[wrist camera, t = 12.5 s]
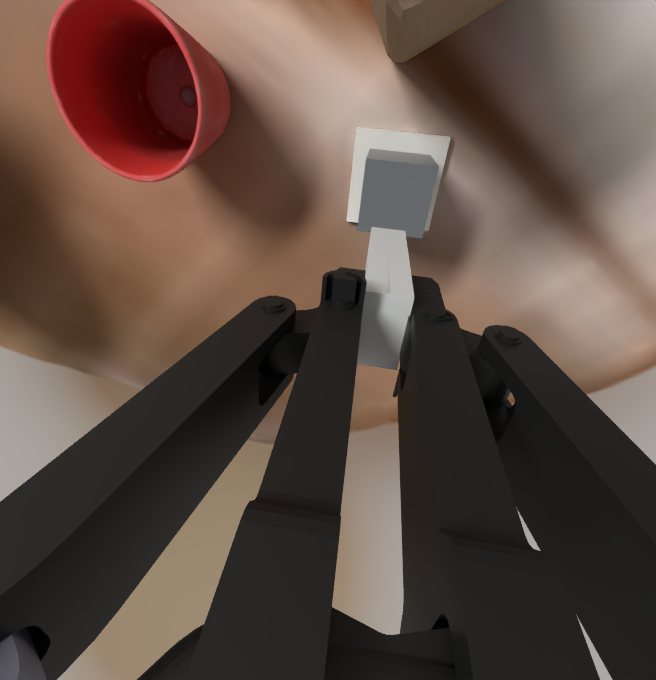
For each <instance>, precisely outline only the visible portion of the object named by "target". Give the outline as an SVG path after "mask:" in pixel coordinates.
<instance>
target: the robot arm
mask: <svg viewBox="0 0 656 680" xmlns="http://www.w3.org/2000/svg"><path fill="white" fill-rule="evenodd" d="M399 360H400V369H399V373H398V377H397V381H396V385H395V390H394V394H393V397H396V396H397V393H398V425H399V456H400V488H401V521H402V551H403V552H402V554H403V584H404V585H403V587H404V605H403V615H402V621H401V629H400V634H397V635H386V634H382V633H380V632H378V631H376V630H374V629H372V628H370V627H368V626H367V625H365V624H363V623H361V622H359V621H357V620H355V619H353V618H351V617H350V616H348V615H346V614H344V613H342V612H340V611H338V610H336V609H334V608H332V599H333V590H334V581H335V571H336V561H337V552H338V543H339V533H340V523H341V516H340V512H341V502H342V492H343V483H344V475H345V466H346V457H347V447H348V437H349V430H350V421H351V412H352V403H353V394H354V385H355V376H356V367H357V364H360V365H367V366H374V367H381V368H387V369H394V370H397V368H398V364H399ZM294 373H297V376H296V379H295V382H294V385H293V388H292V391H291V394H290V397H289V400H288V404H287V407H286V410H285V413H284V416H283V419H282V422H281V425H280V428H279V431H278V434H277V437H276V440H275V444H274V447H273V450H272V453H271V456H270V459H269V462H268V465H267V468H266V472H265V474H264V478H263V481H262V484H261V487H260V490H259V492H258V495H257V497H256V499H255V500H253V501H250V502H249V503H248V505H247V506H246V508H245V510H244V513H243V515H242V518H241V520H240V523H239V526H238V529H237V532H236V535H235V538H234V540H233V543H232V546H231V549H230V552H229V555H228V558H227V560H226V563H225V566H224V569H223V572H222V575H221V578H220V581H219V584H218V586H217V589H216V592H215V595H214V598H213V601H212V604H211V607H210V610H209V612H208V615H207V618H206V621H205V624H204V625H202V626H200V627H198V628H197V629H195V630H193V631H192V632H191V633H189V634H188V635H187V636H185V637H184V638H183V639H182V640H180V641H178V642H177V643H176V644H175V645H174V646H173V647H172V648H170V649H169V650H168V651H167V652H166V653H165V654H164V655H163V656H162V657H161V658H160V659H159V660H157V661H156V662H155V663H154V664H153V665H152V666H151V667H150V668H149V669H148V670H147V671H146V672H145V673H144V674H142V675H141V676H140V677H139V678H138V679H137V680H600V678H599V676H598V673H597V671H596V668H595V665H594V662H593V660H592V657H591V654H590V651H589V648H588V646H587V643H586V640H585V638H584V635H583V632H582V629H581V627H580V624H579V621H578V618H579V620H580V622H581V623H582V625H583V627H584V629H585V631H586V633H587V634H588V636H589V638H590V640H591V642H592V643H593V645H594V647H595V649H596V651H597V652H598V654H599V656H600V658H601V659H602V661H603V663H604V665H605V667H606V668H607V670H608V672H609V674H610V676H611V677H612V679H613V680H656V465H655V464H654V463H653V462H652V461H651V460H650V459H649V458H648V457H647V456H646V455H645V454H644V452H643V451H642V450H641V449H640V448H639V447H638V446H637V445H636V444H635V443H633V442H632V440H631V439H629V437H628V436H627V435H626V434H625V433H624V432H623V431H622V430H621V429H620V428H619V427H617V425H616V424H615V423H614V422H613V421H611V419H610V418H609V417H608V416H607V415H606V414H605V413H604V412H603V411H602V410H601V409H600V408H599V407H598V406H597V405H596V404H595V403H594V402H593V401H592V400H591V399H590V398H589V397H588V396H587V395H586V394H585V393H584V392H583V391H582V390H581V389H580V388H579V387H578V386H577V385H576V384H575V383H574V382H573V381H572V380H571V379H570V378H569V377H568V376H567V375H566V374H565V373H564V372H563V371H562V370H561V369H560V368H559V367H558V366H557V365H556V364H555V363H554V362H553V361H552V360H551V359H550V358H549V357H548V356H547V355H546V354H545V353H544V352H543V351H542V350H541V349H540V348H539V347H538V346H537V345H536V344H535V343H534V342H533V341H532V340H531V339H530V338H529V337H528V336H526V335H525V334H524V333H522V332H520V331H518V330H517V329H515V328H512V327H509V326H500V325H493V326H489V327H487V328H485V330H484V333H483V335H482V336H481V335H478V334H474V333H471V332H468V331H465V330H463V329H461V328H460V327H459V324H458V320H457V318H456V317H455V315H454V314H452V313H451V312H450V311H448V310H446V309H445V306H444V302H443V299H442V295H441V292H440V288H439V285H438V284H437V283H436V282H435V281H434V280H433V279H432V278H427V277H419V276H411V269H410V262H409V255H408V247H407V240H406V233H405V231H402V230H394V229H386V228H377V227H372V228H371V234H370V241H369V248H368V255H367V262H366V268H365V270H357V269H349V268H341V267H340V268H339V269H337V270H335V271H330V272H327V273H325V274H324V276H323V280H322V293H321V302H320V305H319V307H317V308H314V309H310V310H296V306H295V303H294V302H292V301H291V300H289V299H287V298H284V297H279V296H267V297H263V298H259V299H257V300H255V301H254V302H253V303H251V304H250V305H249V306H247V307H246V308H245V309H244V310H242V311H241V312H240V313H239V314H237V315H236V316H235V317H234V318H232V319H231V320H230V321H228V322H227V323H226V324H225V325H223V326H222V327H221V328H220V329H218V330H217V331H216V332H215V333H213V334H212V335H211V336H210V337H208V338H207V339H206V340H204V341H203V342H202V343H201V344H199V345H198V346H197V347H196V348H194V349H193V350H192V351H191V352H189V353H188V354H187V355H185V356H184V357H183V358H182V359H180V360H179V361H178V362H177V363H175V364H174V365H173V366H172V367H170V368H169V369H168V370H166V371H165V372H164V373H163V374H161V375H160V376H159V377H158V378H156V379H155V380H154V381H153V382H151V383H150V384H149V385H147V386H146V387H145V388H144V389H142V390H141V391H140V392H139V393H137V394H136V395H135V396H134V397H132V398H131V399H130V400H129V401H127V402H126V403H125V404H123V405H122V406H121V407H120V408H118V409H117V410H116V411H115V412H113V413H112V414H111V415H110V416H108V417H107V418H106V419H104V420H103V421H102V422H101V423H99V424H98V425H97V426H96V427H94V428H93V429H92V430H91V431H89V432H88V433H87V434H85V435H84V436H83V437H82V438H81V439H79V440H78V441H77V442H75V443H74V444H73V445H72V446H70V447H69V448H68V449H67V450H65V451H64V452H63V453H61V454H60V455H59V456H58V457H56V458H55V459H54V460H53V461H51V462H50V463H49V464H48V465H46V466H45V467H44V468H42V469H41V470H40V471H39V472H37V473H36V474H35V475H34V476H32V477H31V478H30V479H29V480H27V481H26V482H25V483H23V484H22V485H21V486H20V487H18V488H17V489H16V490H15V491H13V492H12V493H11V494H10V495H9V496H7V497H6V498H5V499H3V500H2V501H1V502H0V680H57V679H58V677H60V676H61V675H62V674H63V673H64V672H65V671H66V670H67V669H68V668H69V667H70V665H71V664H72V663H73V662H74V661H75V660H76V659H77V658H78V657H79V656H80V655H81V654H82V653H83V652H84V651H85V650H86V648H87V647H88V646H89V645H90V644H91V643H92V642H93V641H94V640H95V639H96V637H97V636H98V635H99V634H100V633H101V631H102V630H103V629H104V628H105V626H106V625H107V624H108V623H109V621H110V620H111V619H112V618H113V617H114V615H115V614H116V613H117V612H118V610H119V609H120V608H121V607H122V605H123V604H124V603H125V601H126V600H127V599H128V597H129V596H130V594H131V593H132V592H133V591H134V589H135V588H136V587H137V585H138V584H139V583H140V581H141V580H142V579H143V577H144V576H145V575H146V573H147V572H148V571H149V569H150V568H151V567H152V565H153V564H154V563H155V561H156V560H157V559H158V557H159V556H160V555H161V553H162V552H163V551H164V550H165V548H166V547H167V546H168V544H169V543H170V542H171V540H172V539H173V538H174V536H175V535H176V534H177V532H178V531H179V530H180V528H181V527H182V526H183V524H184V523H185V522H186V520H187V519H188V517H189V516H190V515H191V514H192V512H193V511H194V510H195V508H196V507H197V505H198V504H199V503H200V502H201V500H202V499H203V498H204V496H205V495H206V494H207V492H208V491H209V490H210V488H211V487H212V486H213V484H214V483H215V482H216V480H217V479H218V478H219V476H220V475H221V474H222V473H223V471H224V470H225V469H226V467H227V466H228V465H229V463H230V462H231V461H232V459H233V458H234V456H235V455H236V454H237V453H238V451H239V450H240V449H241V447H242V446H243V444H244V443H245V442H246V441H247V439H248V438H249V437H250V435H251V434H252V433H253V431H254V430H255V429H256V427H257V426H258V425H259V423H260V422H261V421H262V419H263V418H264V417H265V415H266V414H267V413H268V411H269V410H270V409H271V407H272V406H273V405H274V403H275V402H276V401H277V400H278V398H279V397H280V396H281V394H282V393H283V392H284V390H285V389H286V388H287V386H288V385H289V384H290V382H291V381H292V379H293V376H294ZM510 392H512V394H513V396H514V399H515V403H514V405H513V406H512V405H511V404H510V402H509V401H508V400H507V398H508V396H509V394H510ZM516 507H517V508H516ZM517 509H518V511H519V512H520V514H521V516H522V518H523V520H524V522H525V523H526V525H527V527H528V529H529V531H530V532H531V534H532V536H533V538H534V539H535V541H536V543H537V545H538V547H539V548H540V550H541V551H538V550H535V549H533V548H532V547H531V546H530V545H529V543H528V541H527V539H526V536H525V533H524V530H523V527H522V524H521V521H520V518H519V514H518V511H517ZM576 615H577V616H578V618H577V616H576Z"/></svg>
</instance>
